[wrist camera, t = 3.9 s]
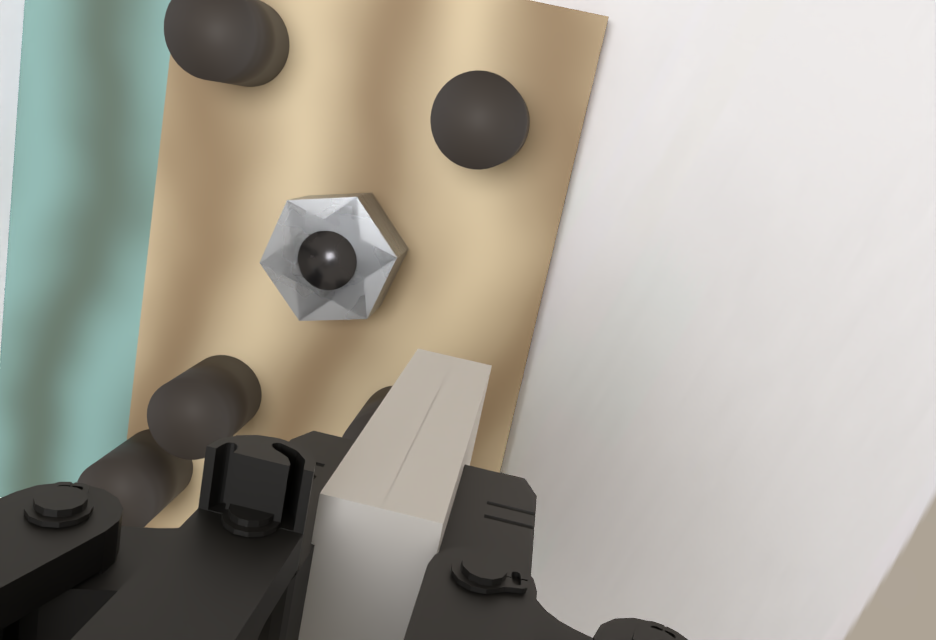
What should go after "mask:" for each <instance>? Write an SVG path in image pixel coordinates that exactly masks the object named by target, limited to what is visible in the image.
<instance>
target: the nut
mask: <svg viewBox="0 0 936 640" xmlns="http://www.w3.org/2000/svg"><path fill="white" fill-rule="evenodd" d="M408 250H409V248H408V247H407V245H406V243H405V242H404V240H403V239H402V237H401V236H400V234H399V233H398V231H397V230H396V228H395V227H394V225H393V224H392V222H391V221H390V219H389V218H388V216H387V214H386V213H385V211H384V210H383V208H382V207H381V205H380V204H379V202H378V201H377V199H376V198H375V196H374V195H373V193H372V192H371V193H350V194H329V195H308V196H303V197H299V198H294V199H290V200H287V201H286V204H285V206H284V208H283V210H282V213H281V215H280V217H279V220H278V222H277V224H276V226H275V229H274V231H273V233H272V235H271V238H270V240H269V242H268V244H267V247H266V249H265V251H264V254H263V256H262V258H261V260H260V264H261V266H262V267H263V269H264V270H265V272H266V273H267V275H268V276H269V278H270V279H271V280H272V282H273V283H274V285H275V286H276V288H277V289H278V291H279V292H280V294H281V295H282V296H283V298H284V299H285V301H286V302H287V304H288V305H289V307H290V308H291V310H292V311H293V313H294V314H295V315H296V317H297V318H298V320H299V321H316V320H352V319H368V318H369V317H370V316H371V315H372V314H373V313H374V312H375V311H376V310H377V309H378V308H379V307H380V306H381V305H382V303H383V301H384V299H385V297H386V295H387V292H388V290H389V288H390V286H391V284H392V282H393V280H394V278H395V276H396V274H397V272H398V270H399V268H400V266H401V264H402V262H403V260H404V258H405V256H406V254H407V252H408Z"/></svg>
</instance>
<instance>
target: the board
mask: <svg viewBox="0 0 936 640" xmlns="http://www.w3.org/2000/svg"><path fill="white" fill-rule="evenodd" d="M607 21H608V17H607V16H603V15H598V14H593V13H588V12H583V11H578V10H574V9H569V8H564V7H559V6H554V5H549V4H545V3H540V2H535V1H530V0H25V6H24V20H23V35H22V49H21V64H20V78H19V93H18V108H17V122H16V137H15V151H14V166H13V180H12V195H11V210H10V224H9V239H8V253H7V268H6V282H5V297H4V312H3V326H2V341H1V355H0V497H4V496H6V495H9V494H11V493H14V492H16V491H19V490H23V489H26V488H29V487H33V486H36V485H43V484H53V483H57V482H72V483H75V482H77V483H84V484H87V485H90V486H94V487H97V488H101V489H105V490H106V491H108V492H109V493H111V494H112V495H114V496H116V497H117V498H118V499H119V501H120V503H121V505H122V507H123V516H122V526H129V527H147V528H179V527H180V526H181V525H182V524H183V523H184V522H185V521H186V520H187V519H188V518H189V517H190V516H191V515H192V514H193V513H194V512H195V511H196V510H197V509H198V506H199V498H200V491H201V483H202V475H203V468H204V460H205V452H206V446H207V445H209V444H211V443H213V442H215V441H216V440H218V439H222V438H227V437H231V436H236V435H262V436H268V437H275V438H280V439H283V440H286V441H290V440H291V439H293V438H296V437H298V436H301V435H304V434H306V433H309V432H311V431H317V432H322V433H326V434H330V435H334V436H338V437H342V438H347V439H351V440H355V441H356V439H357V438H358V436H359V435H360V433H361V432H362V430H363V429H364V428H365V426H366V425H367V423H368V422H369V420H370V419H371V417H372V416H373V414H374V413H375V411H376V410H377V408H378V407H379V405H380V404H381V402H382V401H383V399H384V398H385V397H386V395H387V394H388V392H389V391H390V389H391V388H392V386H393V385H394V383H395V382H396V380H397V379H398V377H399V376H400V374H401V373H402V371H403V370H404V369H405V367H406V366H407V364H408V363H409V361H410V360H411V358H412V357H413V355H414V354H415V352H416V351H417V349H422V350H427V351H431V352H435V353H440V354H444V355H448V356H453V357H457V358H461V359H466V360H470V361H474V362H479V363H483V364H487V365H492V367H491V372H490V376H489V381H488V385H487V390H486V394H485V399H484V403H483V408H482V412H481V417H480V421H479V426H478V430H477V435H476V439H475V444H474V448H473V453H472V458H471V462H470V466H474V467H478V468H482V469H486V470H490V471H494V472H499V473H500V470H501V465H502V461H503V457H504V453H505V449H506V444H507V440H508V436H509V432H510V428H511V424H512V419H513V415H514V411H515V407H516V403H517V398H518V394H519V390H520V386H521V382H522V377H523V373H524V369H525V365H526V361H527V357H528V352H529V348H530V344H531V340H532V336H533V331H534V327H535V323H536V319H537V315H538V310H539V306H540V302H541V298H542V294H543V290H544V285H545V281H546V277H547V273H548V269H549V264H550V260H551V256H552V252H553V248H554V243H555V239H556V235H557V231H558V227H559V223H560V218H561V214H562V210H563V206H564V202H565V197H566V193H567V189H568V185H569V181H570V176H571V172H572V168H573V164H574V160H575V156H576V151H577V147H578V143H579V139H580V135H581V130H582V126H583V122H584V118H585V114H586V109H587V105H588V101H589V97H590V93H591V88H592V84H593V80H594V76H595V72H596V68H597V63H598V59H599V55H600V51H601V47H602V42H603V38H604V34H605V30H606V26H607ZM371 192H372V193H373V195H374V196H375V198H376V199H377V201H378V202H379V204H380V205H381V207H382V208H383V210H384V211H385V213H386V214H387V216H388V218H389V219H390V221H391V222H392V224H393V225H394V227H395V228H396V230H397V231H398V233H399V234H400V236H401V237H402V239H403V240H404V242H405V243H406V245H407V247H408V248H409V250H408V252H407V254H406V256H405V258H404V260H403V262H402V264H401V266H400V268H399V270H398V272H397V274H396V276H395V278H394V280H393V282H392V284H391V286H390V288H389V290H388V292H387V295H386V297H385V299H384V301H383V303H382V305H381V306H380V307H379V308H378V309H377V310H376V311H375V312H374V313H373V314H372V315H371V316H370V317H369V318H368V319H352V320H316V321H299V320H298V318H297V317H296V315H295V314H294V313H293V311H292V310H291V308H290V307H289V305H288V304H287V302H286V301H285V299H284V298H283V296H282V295H281V294H280V292H279V291H278V289H277V288H276V286H275V285H274V283H273V282H272V280H271V279H270V278H269V276H268V275H267V273H266V272H265V270H264V269H263V267H262V266H261V264H260V260H261V258H262V256H263V254H264V251H265V249H266V247H267V244H268V242H269V240H270V238H271V235H272V233H273V231H274V229H275V226H276V224H277V222H278V220H279V217H280V215H281V213H282V210H283V208H284V206H285V204H286V201H287V200H290V199H294V198H299V197H303V196H308V195H329V194H350V193H371Z"/></svg>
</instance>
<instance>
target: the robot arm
mask: <svg viewBox="0 0 936 640" xmlns="http://www.w3.org/2000/svg"><path fill="white" fill-rule="evenodd" d="M491 367H492V365H487V364H483V363H479V362H474V361H470V360H466V359H461V358H457V357H453V356H448V355H444V354H440V353H435V352H431V351H427V350H422V349H417V351H416V352H415V354H414V355H413V357H412V358H411V360H410V361H409V363H408V364H407V366H406V367H405V369H404V370H403V371H402V373H401V374H400V376H399V377H398V379H397V380H396V382H395V383H394V385H393V386H392V388H391V389H390V391H389V392H388V394H387V395H386V397H385V398H384V399H383V401H382V402H381V404H380V405H379V407H378V408H377V410H376V411H375V413H374V414H373V416H372V417H371V419H370V420H369V422H368V423H367V425H366V426H365V428H364V429H363V430H362V432H361V433H360V435H359V436H358V438H357V439H356V441H355V440H351V439H347V438H342V437H338V436H334V435H330V434H326V433H322V432H317V431H311V432H309V433H306V434H304V435H301V436H298V437H296V438H293V439H291V440H290V441H286V440H283V439H280V438H275V437H268V436H262V435H236V436H231V437H227V438H222V439H218V440H216V441H215V442H213V443H211V444H209V445H207V446H206V452H205V460H204V468H203V475H202V483H201V491H200V498H199V506H198V509H197V510H196V511H195V512H194V513H193V514H192V515H191V516H190V517H189V518H188V519H187V520H186V521H185V522H184V523H183V524H182V525H181V526H180V527H179V528H147V527H129V526H122V516H123V507H122V505H121V503H120V501H119V499H118V498H117V497H116V496H114V495H112V494H111V493H109V492H108V491H106V490H105V489H101V488H97V487H94V486H90V485H87V484H84V483H77V482H75V483H72V482H57V483H53V484H43V485H36V486H33V487H29V488H26V489H23V490H19V491H16V492H14V493H11V494H9V495H6V496H4V497H2V498H0V640H688V639H686V638H685V637H683V636H682V635H681V634H679V633H678V632H676V631H675V630H673V629H671V628H669V627H664V625H662V624H659V623H656V622H652V621H645V620H641V619H637V618H619V619H613V620H611V621H609V622H606V623H604V624H602V625H601V626H600V627H599V629H598V630H597V632H596V634H595V635H594V638H591V637H589V636H587V635H585V634H583V633H581V632H579V631H577V630H574V629H573V628H571V627H569V626H567V625H566V624H564V623H562V622H560V621H559V620H557V619H556V618H555V617H553V616H552V615H551V614H550V613H548V612H547V611H546V610H545V609H544V608H543V607H542V606H541V604H540V603H539V602H538V601H537V600H536V595H537V591H536V587H535V583H534V579H533V578H532V577H531V566H532V552H533V538H534V524H535V511H536V497H537V496H536V494H535V493H534V492H533V490H532V489H531V487H530V486H529V484H528V483H527V481H526V480H525V479H524V478H520V477H515V476H511V475H507V474H503V473H499V472H494V471H490V470H486V469H482V468H478V467H474V466H470V462H471V458H472V453H473V448H474V444H475V439H476V435H477V430H478V426H479V421H480V417H481V412H482V408H483V403H484V399H485V394H486V390H487V385H488V381H489V376H490V372H491Z"/></svg>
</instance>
